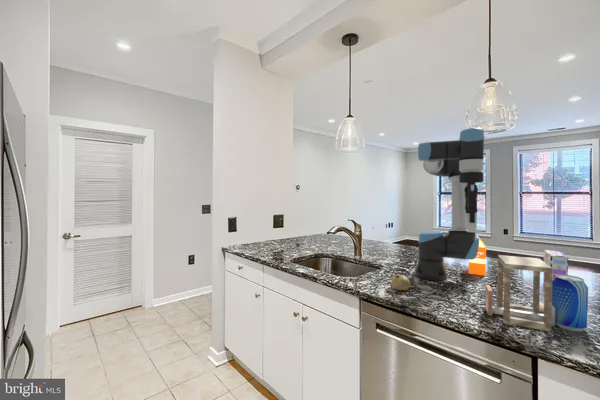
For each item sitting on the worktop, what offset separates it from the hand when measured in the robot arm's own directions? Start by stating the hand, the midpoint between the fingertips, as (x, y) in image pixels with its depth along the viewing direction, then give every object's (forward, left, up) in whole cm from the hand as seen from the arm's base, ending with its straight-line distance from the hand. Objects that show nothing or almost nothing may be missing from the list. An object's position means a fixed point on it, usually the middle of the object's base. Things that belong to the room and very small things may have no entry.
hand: (470, 229), depth 102 cm
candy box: (+36, +42, -30) cm, 63 cm away
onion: (-25, +11, -30) cm, 41 cm away
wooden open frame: (+16, 0, -30) cm, 34 cm away
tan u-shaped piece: (+14, 0, -29) cm, 33 cm away
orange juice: (+8, +57, -30) cm, 65 cm away
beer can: (+28, 0, -30) cm, 41 cm away
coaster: (+27, +13, -30) cm, 42 cm away
